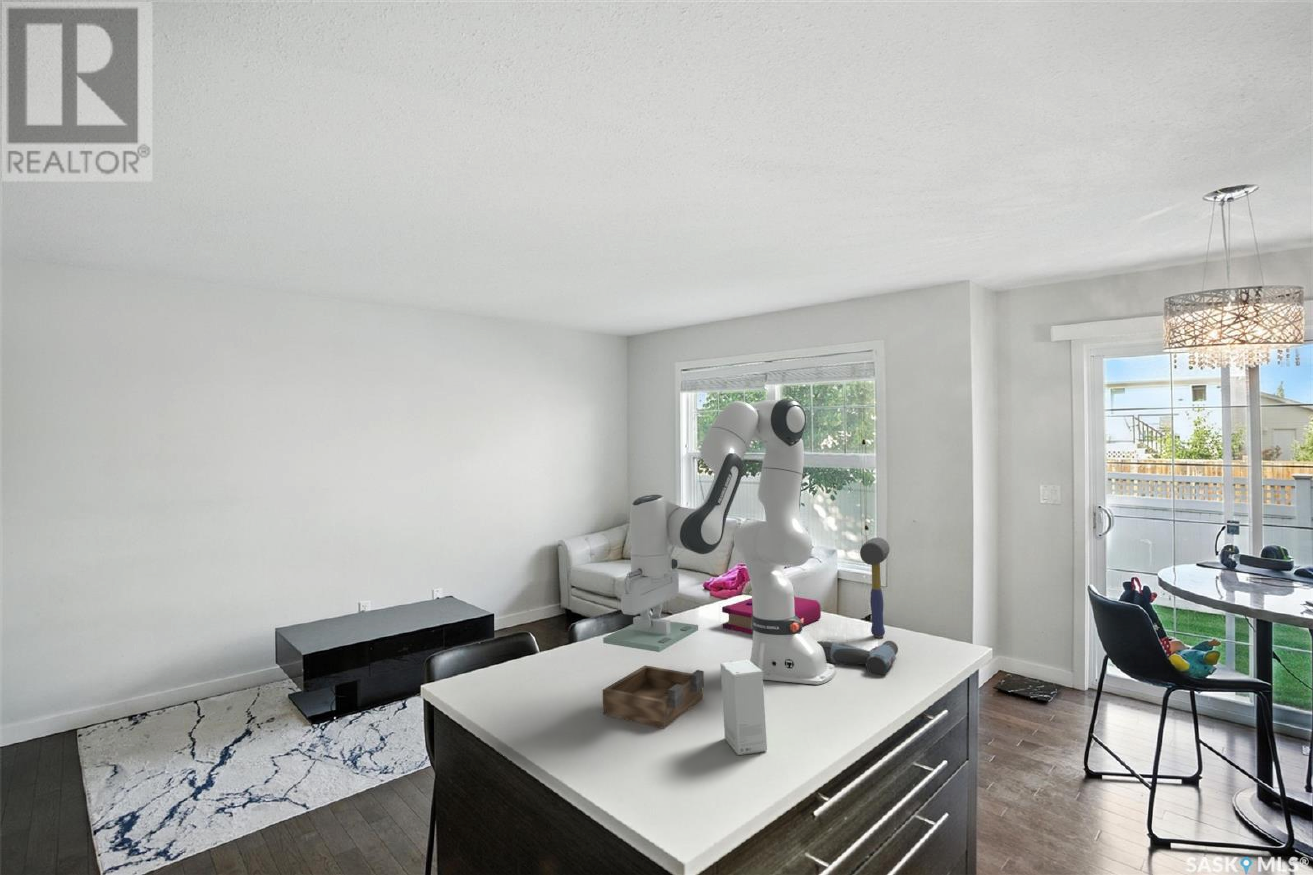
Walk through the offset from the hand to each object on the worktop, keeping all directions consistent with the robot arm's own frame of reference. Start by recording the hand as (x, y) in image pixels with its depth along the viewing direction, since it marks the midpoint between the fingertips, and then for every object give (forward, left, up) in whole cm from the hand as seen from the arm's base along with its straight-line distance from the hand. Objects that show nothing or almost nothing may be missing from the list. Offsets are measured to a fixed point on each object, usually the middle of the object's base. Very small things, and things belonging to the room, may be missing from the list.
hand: (651, 625), depth 148 cm
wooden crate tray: (0, 0, -19) cm, 19 cm away
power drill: (-34, -52, -19) cm, 65 cm away
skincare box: (-26, +8, -19) cm, 33 cm away
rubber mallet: (-34, -76, -19) cm, 85 cm away
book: (+1, -76, -19) cm, 78 cm away
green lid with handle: (0, 0, -3) cm, 3 cm away
